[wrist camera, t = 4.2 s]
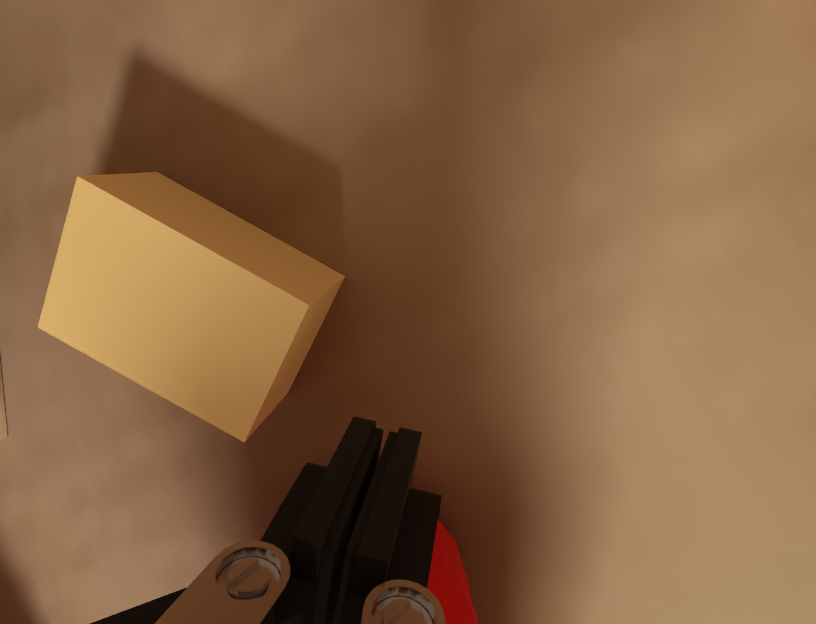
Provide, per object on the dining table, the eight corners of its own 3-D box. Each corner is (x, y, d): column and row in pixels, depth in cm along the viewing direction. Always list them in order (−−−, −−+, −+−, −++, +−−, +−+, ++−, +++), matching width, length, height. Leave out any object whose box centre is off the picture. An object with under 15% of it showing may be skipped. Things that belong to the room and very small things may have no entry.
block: (346, 275, 24) (309, 305, 19) (289, 390, 26) (244, 442, 22) (160, 171, 24) (77, 175, 19) (120, 296, 26) (38, 327, 22)
